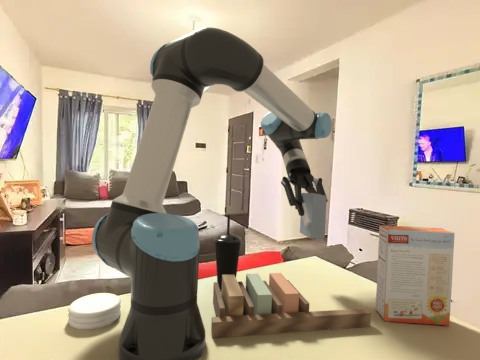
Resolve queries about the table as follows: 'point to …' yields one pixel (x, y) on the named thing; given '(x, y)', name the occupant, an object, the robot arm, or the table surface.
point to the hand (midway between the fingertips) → (315, 224)
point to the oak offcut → (232, 296)
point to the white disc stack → (94, 311)
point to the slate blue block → (314, 215)
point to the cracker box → (414, 274)
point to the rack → (281, 317)
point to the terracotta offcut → (284, 292)
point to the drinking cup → (227, 253)
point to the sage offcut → (258, 294)
